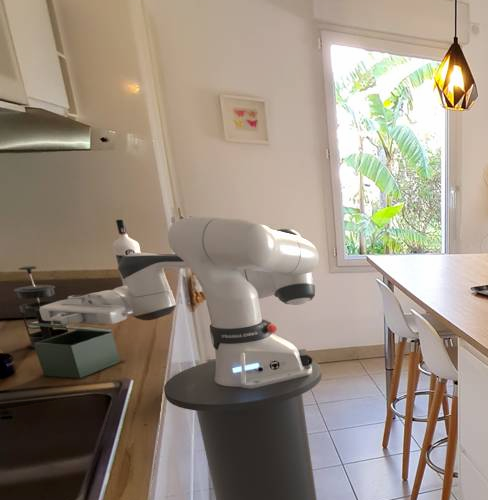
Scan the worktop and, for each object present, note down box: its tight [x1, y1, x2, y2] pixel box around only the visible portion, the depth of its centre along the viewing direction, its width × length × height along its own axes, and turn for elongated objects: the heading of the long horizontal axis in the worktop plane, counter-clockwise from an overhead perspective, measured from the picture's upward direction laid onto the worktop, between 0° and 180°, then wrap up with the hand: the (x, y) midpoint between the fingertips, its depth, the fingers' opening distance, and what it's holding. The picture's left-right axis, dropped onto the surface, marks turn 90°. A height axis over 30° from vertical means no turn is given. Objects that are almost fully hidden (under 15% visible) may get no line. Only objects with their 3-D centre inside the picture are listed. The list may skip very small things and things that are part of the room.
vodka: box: [112, 219, 142, 286], centre depth 214 cm, size 9×9×30 cm
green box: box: [34, 329, 121, 379], centre depth 145 cm, size 12×10×9 cm
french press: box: [13, 265, 69, 349], centre depth 159 cm, size 12×9×23 cm
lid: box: [27, 322, 113, 333], centre depth 142 cm, size 13×10×1 cm
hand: (56, 321), depth 138 cm, fingers closed, pressing on lid
